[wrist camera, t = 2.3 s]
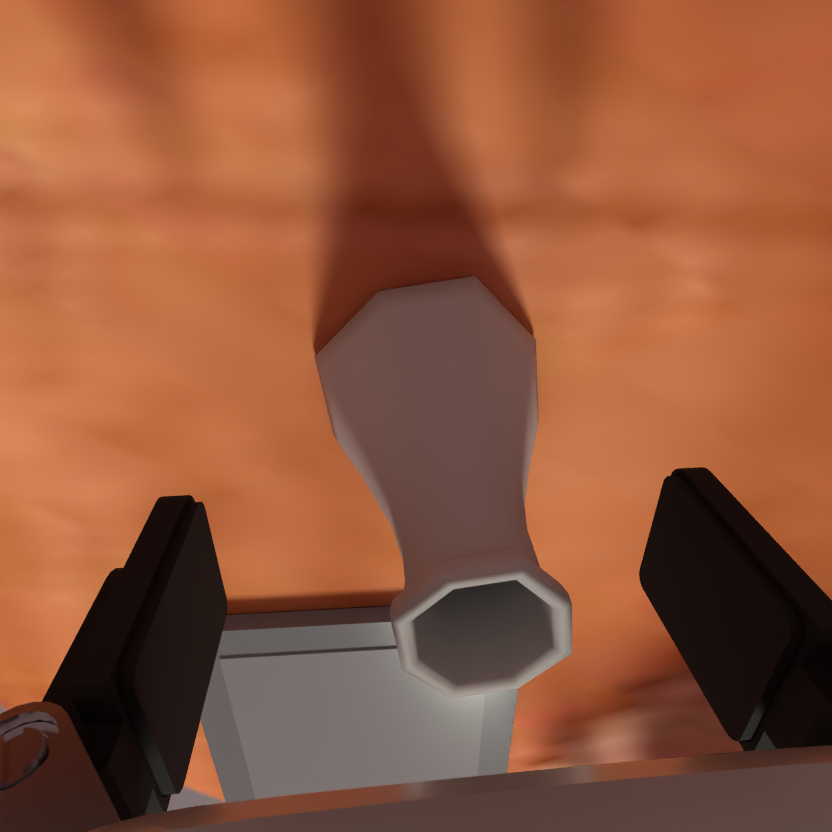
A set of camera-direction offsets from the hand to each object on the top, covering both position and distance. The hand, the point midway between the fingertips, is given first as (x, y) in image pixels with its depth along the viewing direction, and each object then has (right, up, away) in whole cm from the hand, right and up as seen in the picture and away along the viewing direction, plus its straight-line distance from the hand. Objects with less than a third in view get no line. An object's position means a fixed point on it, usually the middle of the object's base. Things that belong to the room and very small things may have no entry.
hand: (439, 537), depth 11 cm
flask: (0, +4, +7) cm, 8 cm away
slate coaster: (-3, -12, +15) cm, 19 cm away
